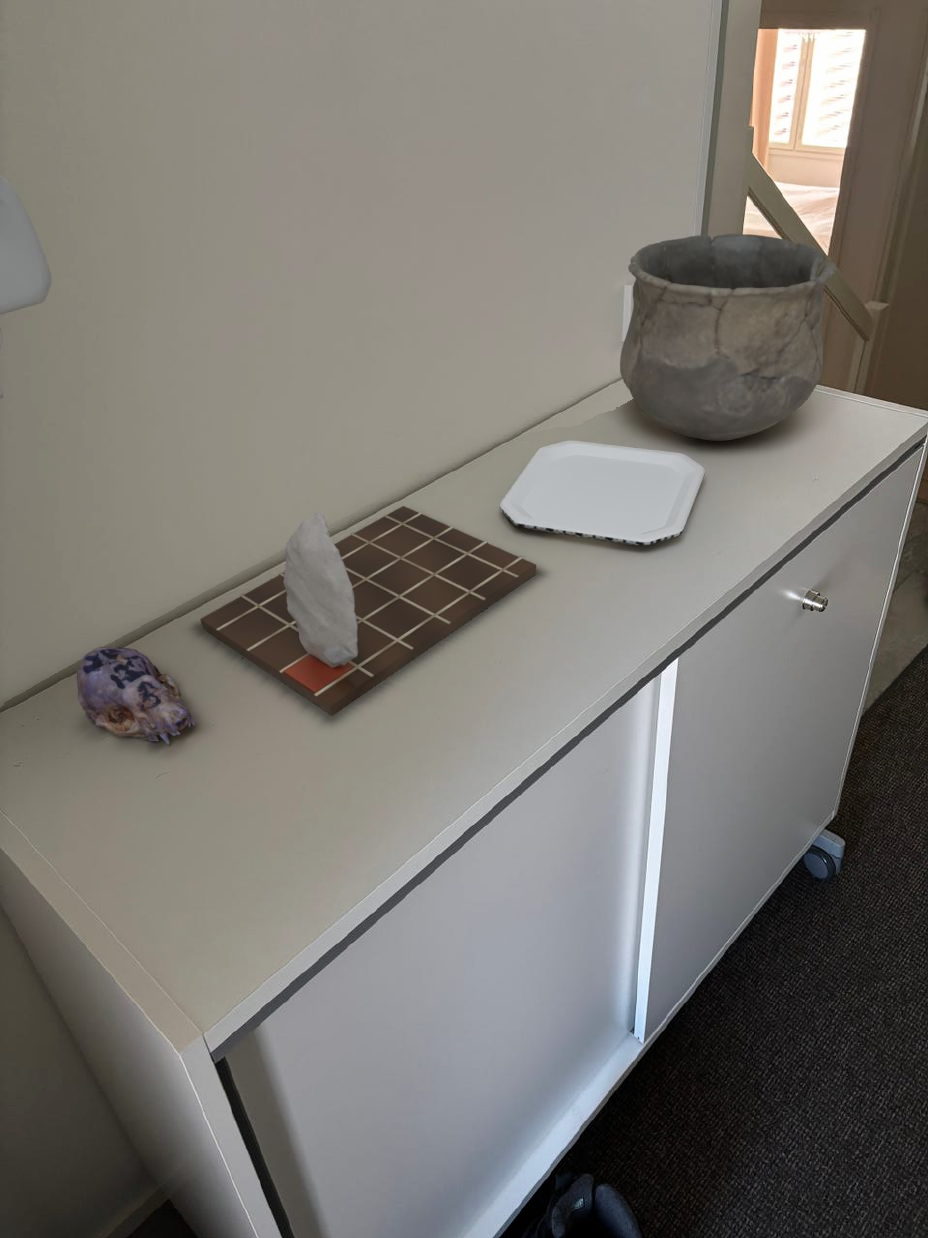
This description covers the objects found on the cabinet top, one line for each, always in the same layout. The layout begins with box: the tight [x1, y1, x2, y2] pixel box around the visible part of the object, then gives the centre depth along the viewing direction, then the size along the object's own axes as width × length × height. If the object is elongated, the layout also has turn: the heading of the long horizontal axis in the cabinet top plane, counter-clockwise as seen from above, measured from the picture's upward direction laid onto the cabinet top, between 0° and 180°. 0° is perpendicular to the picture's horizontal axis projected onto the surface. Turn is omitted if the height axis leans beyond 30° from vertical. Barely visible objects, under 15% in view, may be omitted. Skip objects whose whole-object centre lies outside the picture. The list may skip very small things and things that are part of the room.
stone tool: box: [283, 510, 358, 668], centre depth 80 cm, size 9×3×15 cm, turn 56°
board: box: [200, 505, 537, 716], centre depth 93 cm, size 28×20×1 cm
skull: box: [75, 646, 196, 745], centre depth 80 cm, size 12×8×6 cm, turn 45°
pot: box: [619, 233, 838, 442], centre depth 115 cm, size 25×24×21 cm
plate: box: [499, 440, 706, 546], centre depth 106 cm, size 21×21×2 cm
